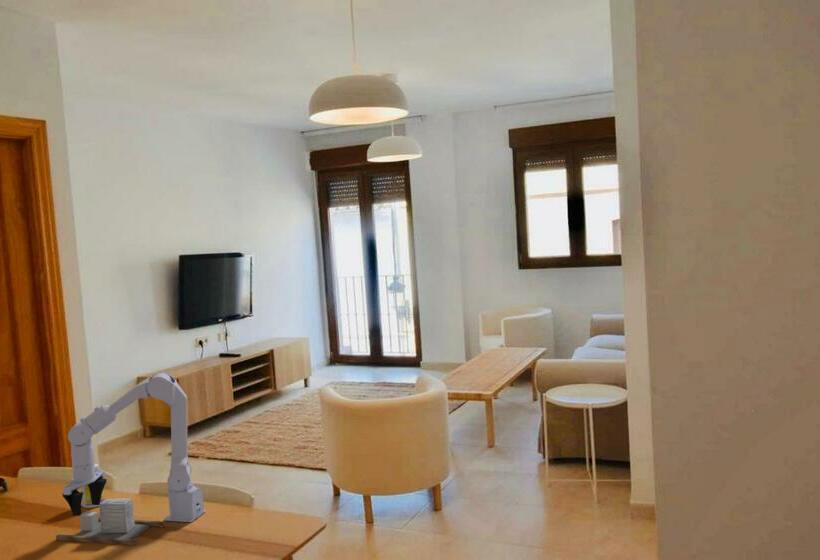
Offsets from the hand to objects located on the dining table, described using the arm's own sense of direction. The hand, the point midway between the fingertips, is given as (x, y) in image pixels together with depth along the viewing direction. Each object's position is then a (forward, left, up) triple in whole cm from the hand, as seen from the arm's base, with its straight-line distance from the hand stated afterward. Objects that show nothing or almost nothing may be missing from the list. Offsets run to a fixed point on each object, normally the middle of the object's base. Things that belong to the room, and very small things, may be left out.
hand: (86, 509), depth 186 cm
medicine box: (-10, 0, -6) cm, 12 cm away
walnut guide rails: (-8, 0, -6) cm, 10 cm away
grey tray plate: (-8, 0, -6) cm, 10 cm away
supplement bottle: (+13, -18, -7) cm, 23 cm away
